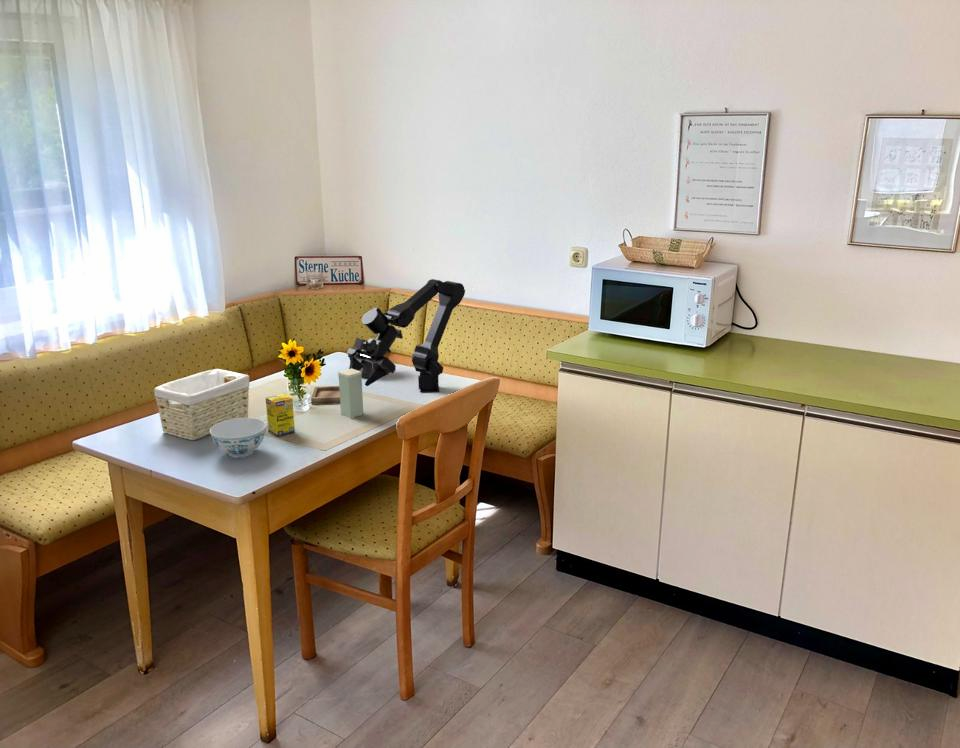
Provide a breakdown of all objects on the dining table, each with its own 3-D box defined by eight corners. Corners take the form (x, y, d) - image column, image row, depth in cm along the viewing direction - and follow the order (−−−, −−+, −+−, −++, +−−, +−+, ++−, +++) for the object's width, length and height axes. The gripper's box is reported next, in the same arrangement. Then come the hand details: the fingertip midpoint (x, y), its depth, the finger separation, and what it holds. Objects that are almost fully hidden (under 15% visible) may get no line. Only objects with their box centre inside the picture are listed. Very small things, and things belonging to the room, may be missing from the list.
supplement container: (391, 374, 289) (389, 343, 285) (367, 381, 282) (365, 348, 278) (374, 368, 296) (372, 337, 293) (350, 374, 289) (348, 343, 286)
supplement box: (277, 437, 232) (274, 402, 229) (268, 431, 236) (264, 397, 233) (295, 432, 236) (292, 397, 232) (286, 426, 240) (283, 392, 237)
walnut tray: (350, 391, 272) (350, 385, 271) (348, 402, 260) (348, 397, 260) (315, 392, 271) (315, 386, 270) (311, 404, 259) (311, 398, 259)
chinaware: (278, 445, 226) (275, 420, 224) (252, 466, 212) (249, 439, 210) (230, 440, 230) (227, 415, 227) (202, 461, 216) (198, 435, 213)
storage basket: (219, 410, 255) (215, 366, 250) (256, 419, 247) (251, 374, 242) (156, 434, 235) (150, 387, 231) (193, 444, 227) (188, 396, 223)
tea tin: (353, 410, 253) (351, 368, 249) (363, 414, 250) (361, 371, 246) (340, 414, 250) (338, 372, 246) (350, 418, 246) (348, 375, 242)
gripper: (349, 322, 254) (323, 362, 249) (387, 332, 241) (359, 375, 237) (370, 342, 261) (344, 381, 257) (407, 352, 249) (381, 393, 245)
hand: (356, 382), depth 249 cm, fingers open, 9 cm apart
